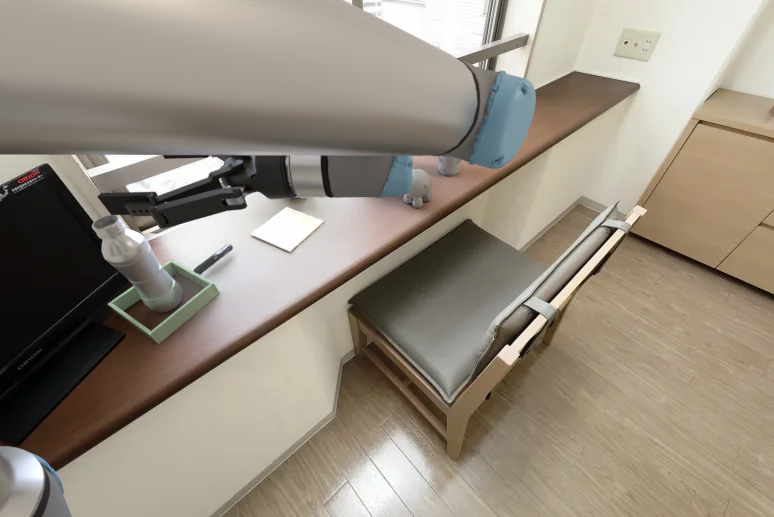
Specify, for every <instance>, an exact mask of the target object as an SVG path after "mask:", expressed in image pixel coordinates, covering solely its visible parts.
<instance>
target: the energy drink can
mask: <svg viewBox="0 0 774 517" xmlns="http://www.w3.org/2000/svg"><path fill="white" fill-rule="evenodd" d="M437 165H438V166H437V169H438V172H439V173H440V174H441V175H442V176H444V177H454V176H456V175H457V174H458V173H459V172H460V170H461V165H462V159H458V158H455V157H450V156H438V164H437Z"/></svg>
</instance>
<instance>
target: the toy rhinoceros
mask: <svg viewBox="0 0 774 517" xmlns="http://www.w3.org/2000/svg"><path fill="white" fill-rule="evenodd" d="M431 188H432V179H431V177H430V175H429V173H428V172H427V171H425V170H424V169H421V168H413V181H412V188H411V190H410V191H409V192H408V193H407V194H405V195H403V198H402V199H403V202H404V203H405V204H412V207H413V208H415V209H420V208H422V207H423V205H424V202H430V201H431V200H432V197H433V194H432V191H431Z"/></svg>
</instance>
